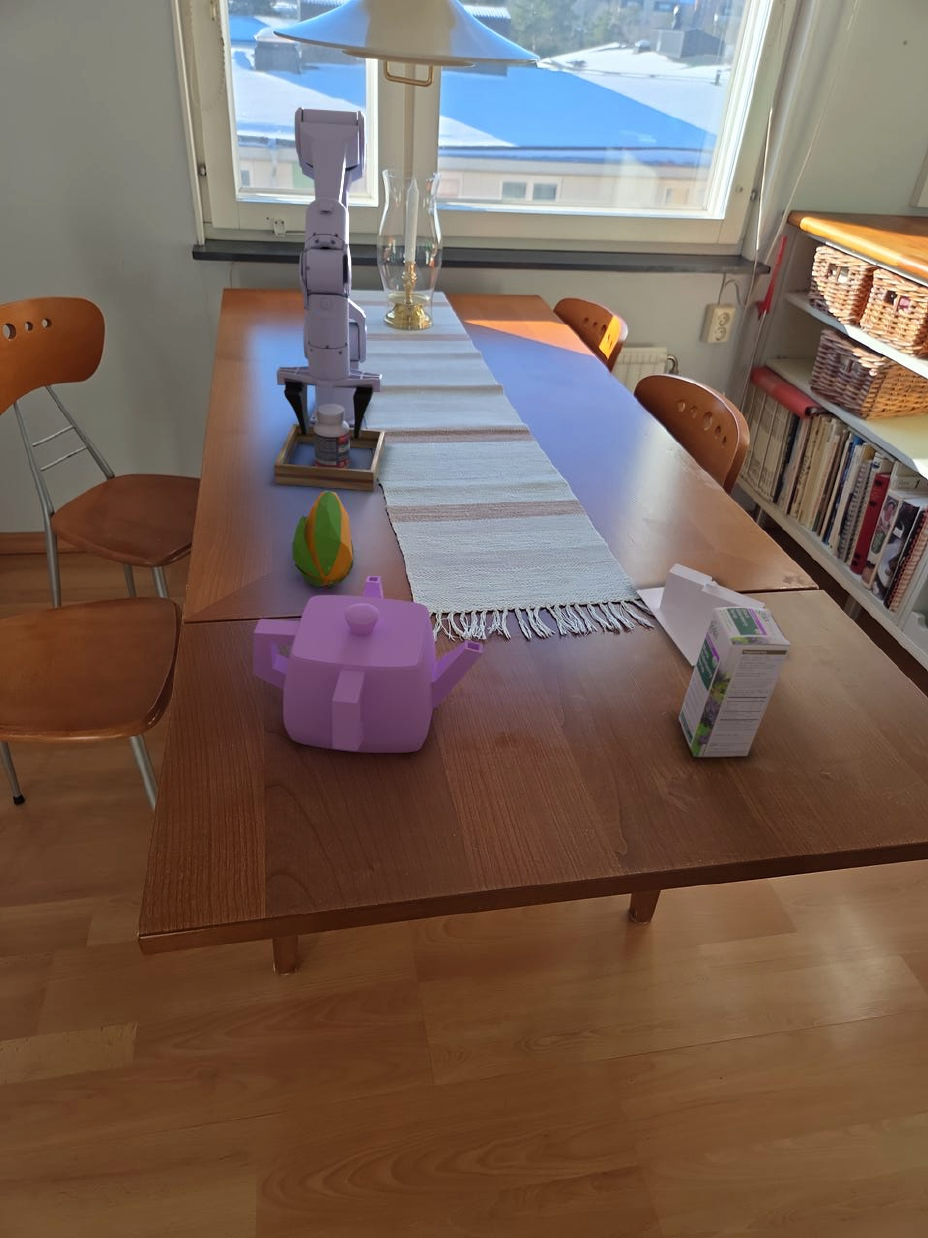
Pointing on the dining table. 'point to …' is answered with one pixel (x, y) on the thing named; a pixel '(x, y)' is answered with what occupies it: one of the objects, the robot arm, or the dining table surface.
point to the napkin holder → (690, 606)
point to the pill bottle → (331, 437)
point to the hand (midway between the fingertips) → (331, 433)
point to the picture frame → (327, 474)
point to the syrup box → (732, 681)
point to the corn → (324, 542)
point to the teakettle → (359, 671)
